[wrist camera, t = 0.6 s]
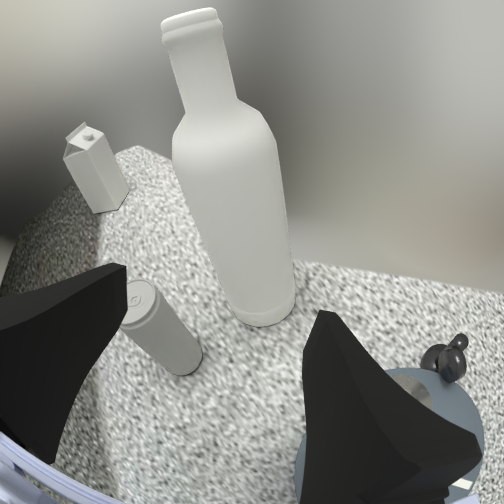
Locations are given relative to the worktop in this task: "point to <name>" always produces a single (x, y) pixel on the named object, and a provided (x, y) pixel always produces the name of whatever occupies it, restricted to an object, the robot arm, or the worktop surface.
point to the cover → (414, 389)
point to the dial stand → (447, 359)
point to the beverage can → (159, 329)
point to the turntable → (444, 404)
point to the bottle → (229, 173)
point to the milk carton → (95, 169)
